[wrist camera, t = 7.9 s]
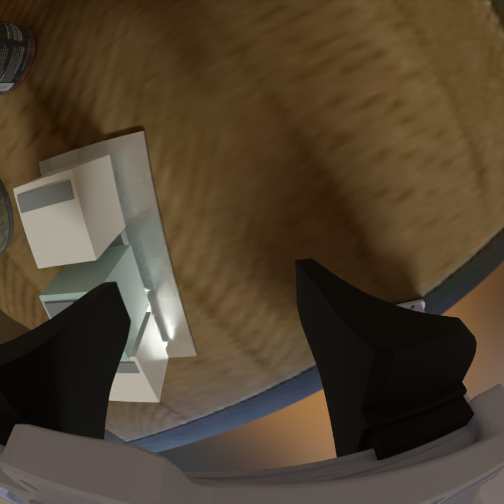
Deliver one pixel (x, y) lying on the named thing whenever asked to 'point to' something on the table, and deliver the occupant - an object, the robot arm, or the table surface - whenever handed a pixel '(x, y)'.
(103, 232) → the mounted modules
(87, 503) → the robot arm
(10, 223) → the thermos
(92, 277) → the block
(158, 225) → the rail panel
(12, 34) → the supplement bottle
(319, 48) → the table surface
